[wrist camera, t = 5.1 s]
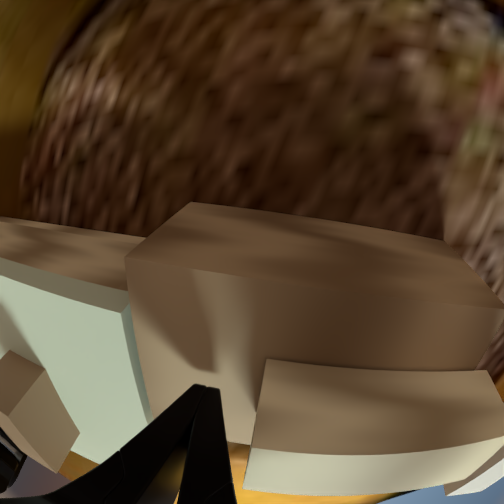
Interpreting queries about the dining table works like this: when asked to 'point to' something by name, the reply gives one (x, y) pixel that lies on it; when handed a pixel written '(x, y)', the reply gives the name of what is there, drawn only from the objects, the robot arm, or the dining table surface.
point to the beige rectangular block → (370, 429)
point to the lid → (67, 366)
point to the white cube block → (479, 476)
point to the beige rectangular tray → (272, 298)
